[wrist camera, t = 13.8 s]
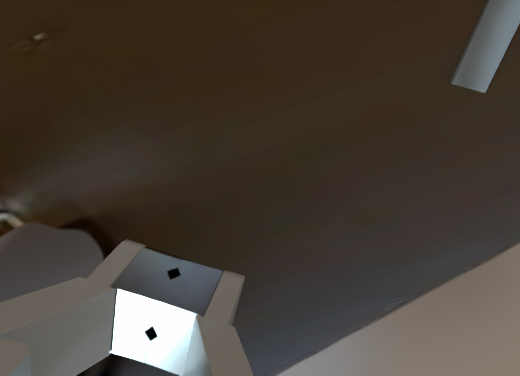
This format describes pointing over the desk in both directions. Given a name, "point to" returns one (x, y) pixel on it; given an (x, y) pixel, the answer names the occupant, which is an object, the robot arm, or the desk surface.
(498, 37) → the gate frame
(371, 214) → the desk surface
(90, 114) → the desk surface
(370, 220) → the desk surface
